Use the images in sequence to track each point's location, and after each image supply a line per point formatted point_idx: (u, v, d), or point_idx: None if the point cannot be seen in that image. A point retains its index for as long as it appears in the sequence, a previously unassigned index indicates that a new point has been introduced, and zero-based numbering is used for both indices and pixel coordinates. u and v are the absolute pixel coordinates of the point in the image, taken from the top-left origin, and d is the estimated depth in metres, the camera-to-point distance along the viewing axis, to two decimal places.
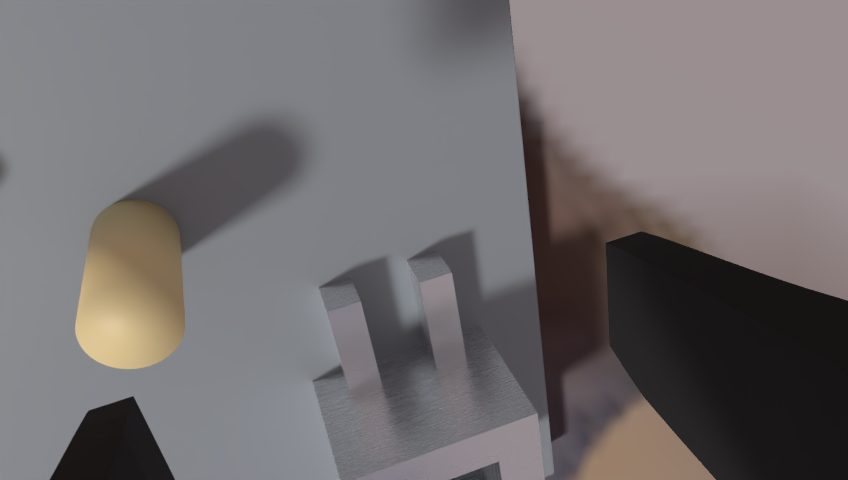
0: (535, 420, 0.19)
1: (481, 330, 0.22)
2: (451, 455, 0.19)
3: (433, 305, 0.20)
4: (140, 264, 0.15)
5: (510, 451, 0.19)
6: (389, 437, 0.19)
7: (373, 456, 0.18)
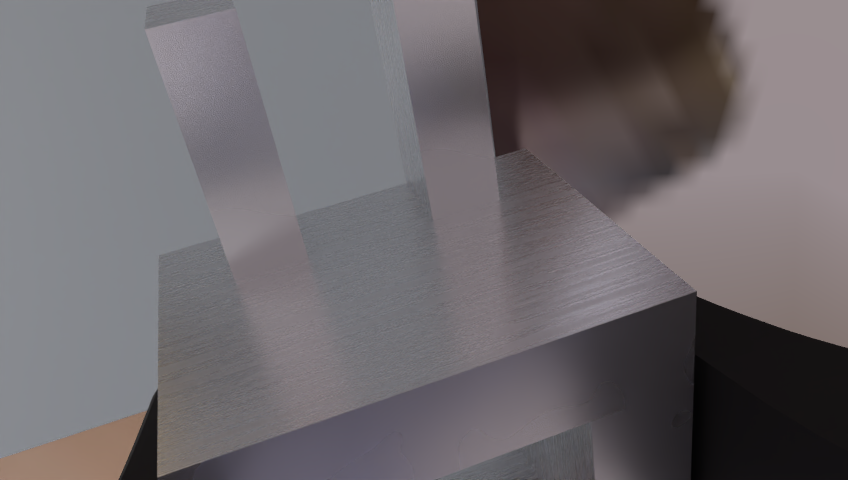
0: (689, 312, 0.07)
1: (529, 155, 0.10)
2: (472, 400, 0.07)
3: (423, 46, 0.08)
4: None
5: (620, 395, 0.08)
6: (309, 358, 0.07)
7: (260, 404, 0.07)
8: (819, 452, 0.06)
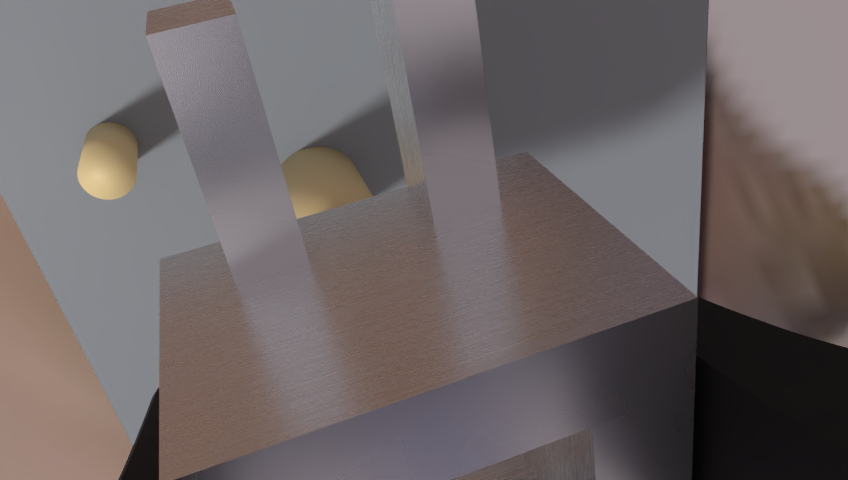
0: (690, 318, 0.07)
1: (530, 158, 0.10)
2: (473, 406, 0.07)
3: (424, 50, 0.08)
4: None
5: (622, 401, 0.08)
6: (311, 364, 0.07)
7: (262, 410, 0.07)
8: (819, 452, 0.06)
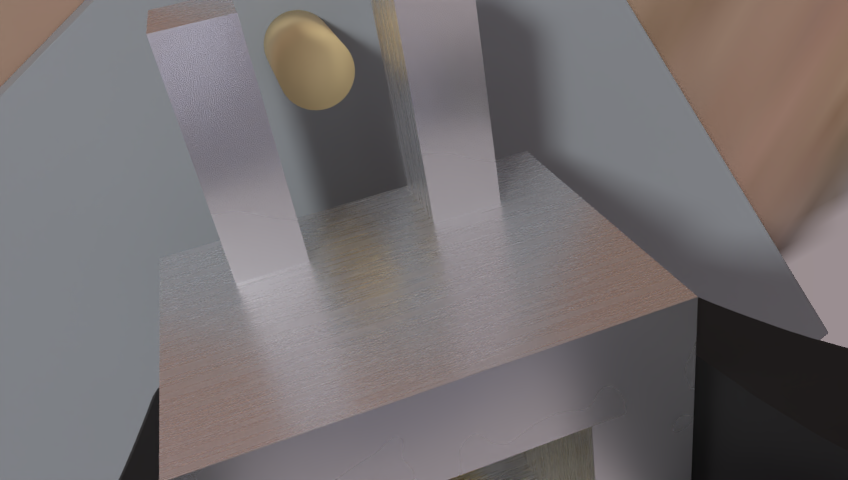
0: (690, 317, 0.07)
1: (530, 158, 0.10)
2: (473, 405, 0.07)
3: (425, 49, 0.08)
4: None
5: (621, 400, 0.08)
6: (312, 363, 0.07)
7: (262, 409, 0.07)
8: (818, 452, 0.06)
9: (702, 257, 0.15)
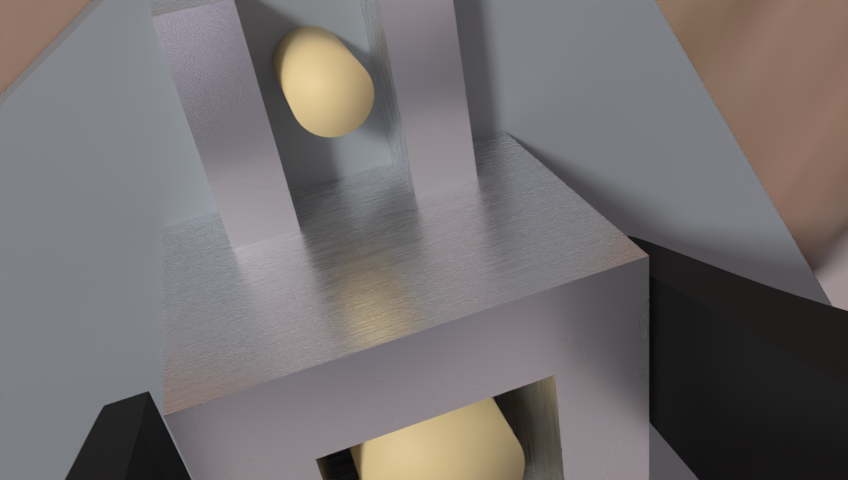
0: (642, 274, 0.08)
1: (506, 137, 0.11)
2: (445, 352, 0.08)
3: (405, 33, 0.09)
4: None
5: (581, 351, 0.08)
6: (301, 315, 0.08)
7: (256, 354, 0.08)
8: None
9: None
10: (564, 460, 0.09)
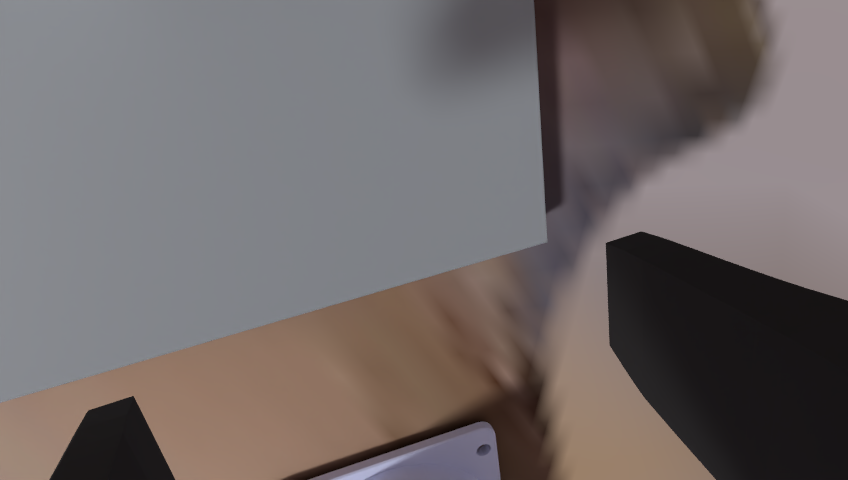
0: None
1: None
2: None
3: None
4: None
5: None
6: None
7: None
8: None
9: None
10: None
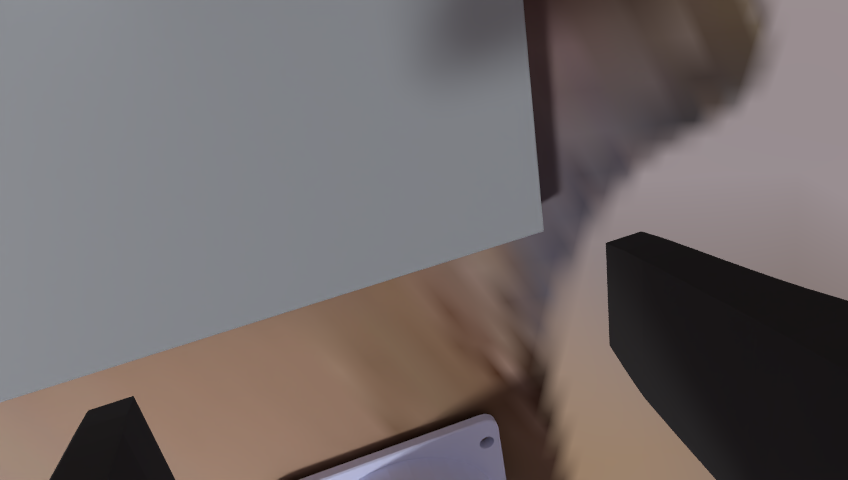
0: None
1: None
2: None
3: None
4: None
5: None
6: None
7: None
8: None
9: None
10: None
